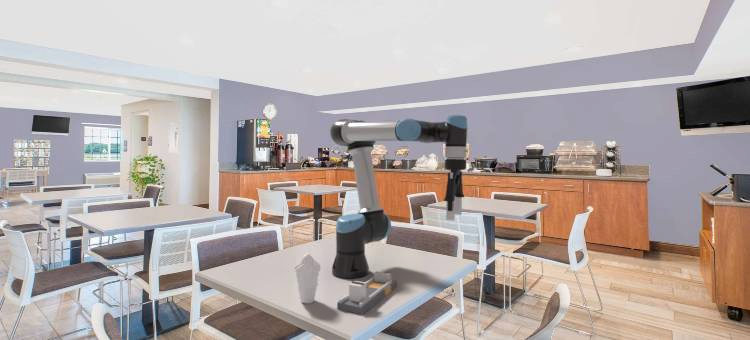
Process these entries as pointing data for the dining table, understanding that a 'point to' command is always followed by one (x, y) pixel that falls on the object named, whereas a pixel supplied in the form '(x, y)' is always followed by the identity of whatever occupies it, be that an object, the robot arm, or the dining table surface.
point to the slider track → (369, 293)
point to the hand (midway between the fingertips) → (454, 217)
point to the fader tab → (357, 291)
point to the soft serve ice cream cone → (307, 278)
